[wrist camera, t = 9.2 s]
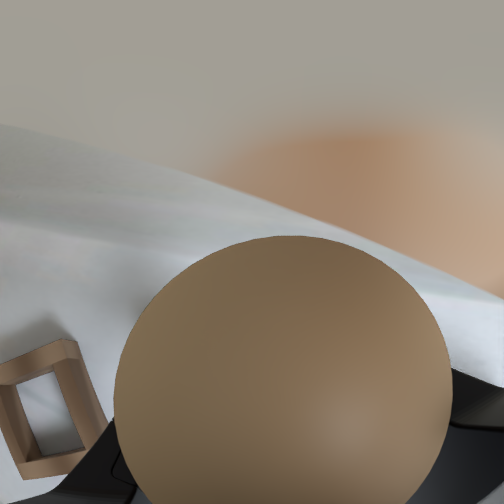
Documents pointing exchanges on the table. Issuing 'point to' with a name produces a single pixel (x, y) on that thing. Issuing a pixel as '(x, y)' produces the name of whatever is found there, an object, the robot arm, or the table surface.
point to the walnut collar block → (76, 397)
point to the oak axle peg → (283, 380)
